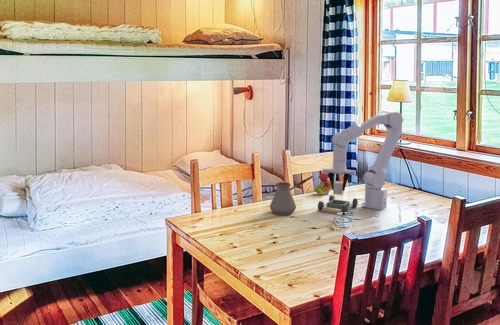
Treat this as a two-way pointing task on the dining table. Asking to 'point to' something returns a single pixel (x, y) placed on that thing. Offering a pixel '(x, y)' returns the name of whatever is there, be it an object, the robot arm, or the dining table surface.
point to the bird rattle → (326, 185)
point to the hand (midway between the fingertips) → (338, 190)
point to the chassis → (336, 205)
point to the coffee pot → (284, 198)
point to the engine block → (338, 188)
